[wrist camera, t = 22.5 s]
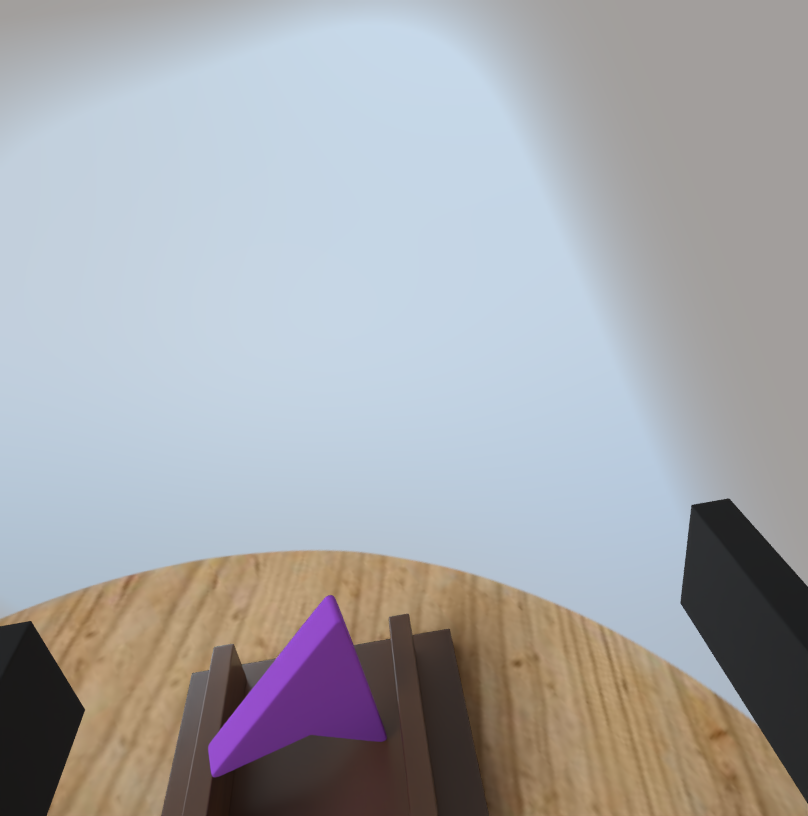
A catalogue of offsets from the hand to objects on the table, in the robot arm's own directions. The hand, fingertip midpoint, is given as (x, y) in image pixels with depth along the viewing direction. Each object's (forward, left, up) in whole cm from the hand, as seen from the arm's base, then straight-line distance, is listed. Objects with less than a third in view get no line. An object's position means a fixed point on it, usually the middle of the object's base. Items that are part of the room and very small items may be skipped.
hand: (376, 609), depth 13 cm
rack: (+5, -11, -23) cm, 26 cm away
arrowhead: (+6, -11, -20) cm, 24 cm away
